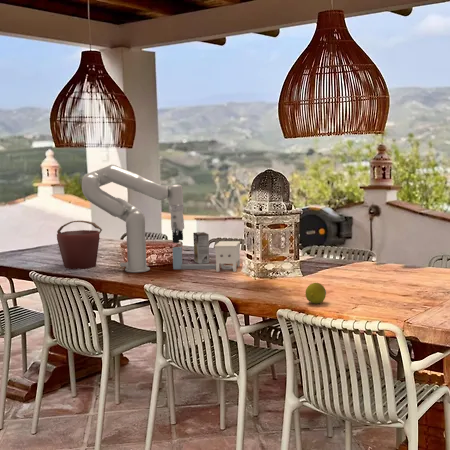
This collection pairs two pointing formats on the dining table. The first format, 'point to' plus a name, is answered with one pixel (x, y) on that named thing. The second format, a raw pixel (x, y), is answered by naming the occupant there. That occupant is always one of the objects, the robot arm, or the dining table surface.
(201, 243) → the coffee box
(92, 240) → the bucket
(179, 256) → the blue-grey u-shaped bracket
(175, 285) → the dining table surface
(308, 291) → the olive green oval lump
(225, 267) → the steel token
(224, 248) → the cabinet
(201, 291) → the dining table surface
